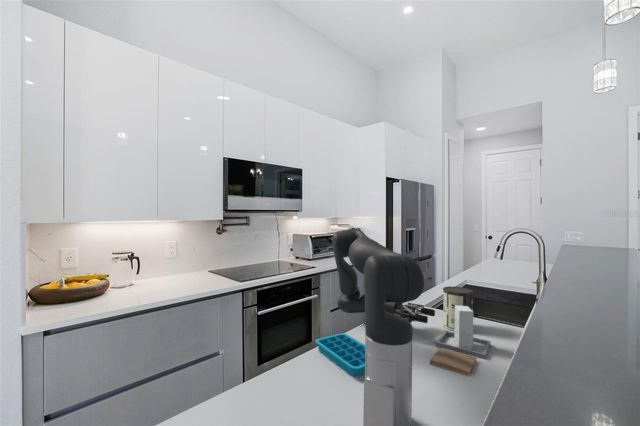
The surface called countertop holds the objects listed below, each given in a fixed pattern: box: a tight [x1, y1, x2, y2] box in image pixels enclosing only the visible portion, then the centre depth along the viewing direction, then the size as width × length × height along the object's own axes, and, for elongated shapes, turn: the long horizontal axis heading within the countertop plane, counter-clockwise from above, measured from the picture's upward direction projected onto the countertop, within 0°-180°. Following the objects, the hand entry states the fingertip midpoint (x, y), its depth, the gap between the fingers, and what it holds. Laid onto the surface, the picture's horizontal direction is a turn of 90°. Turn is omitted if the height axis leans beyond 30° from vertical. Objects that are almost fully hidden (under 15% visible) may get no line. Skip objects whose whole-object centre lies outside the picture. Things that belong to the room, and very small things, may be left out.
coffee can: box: [442, 286, 474, 332], centre depth 110 cm, size 10×10×14 cm
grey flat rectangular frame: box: [435, 330, 492, 360], centre depth 95 cm, size 12×14×1 cm
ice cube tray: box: [314, 332, 365, 378], centre depth 85 cm, size 12×20×3 cm, turn 32°
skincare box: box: [453, 305, 474, 351], centre depth 95 cm, size 6×4×12 cm
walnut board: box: [429, 347, 477, 377], centre depth 83 cm, size 10×10×1 cm
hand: (431, 316), depth 101 cm, fingers open, 8 cm apart
